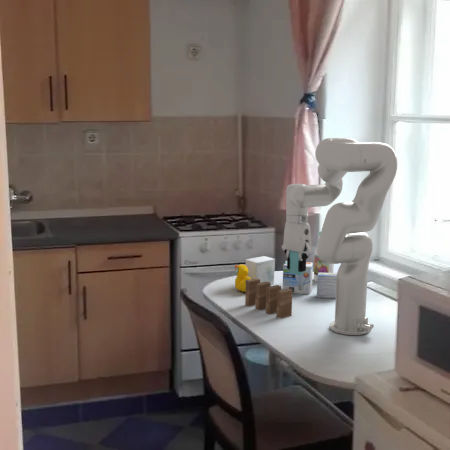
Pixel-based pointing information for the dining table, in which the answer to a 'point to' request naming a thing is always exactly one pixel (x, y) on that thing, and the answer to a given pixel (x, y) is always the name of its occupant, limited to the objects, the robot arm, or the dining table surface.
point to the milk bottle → (321, 265)
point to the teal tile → (294, 263)
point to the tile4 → (251, 291)
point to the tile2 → (272, 299)
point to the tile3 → (261, 295)
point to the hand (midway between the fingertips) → (296, 269)
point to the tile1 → (284, 303)
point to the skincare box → (261, 268)
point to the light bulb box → (298, 280)
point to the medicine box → (326, 285)
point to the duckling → (241, 277)
